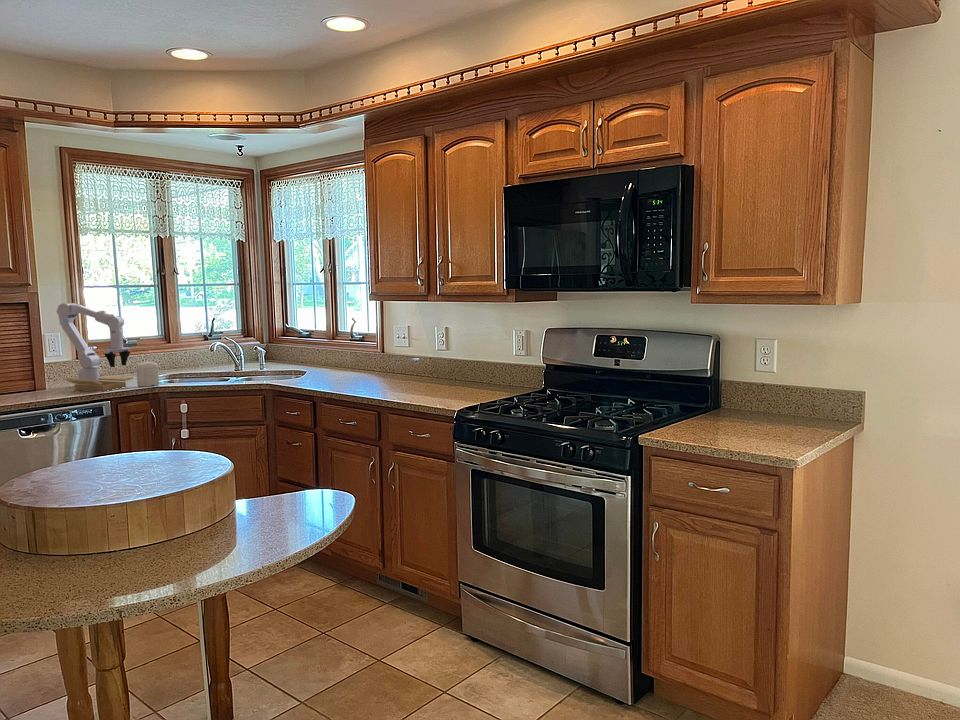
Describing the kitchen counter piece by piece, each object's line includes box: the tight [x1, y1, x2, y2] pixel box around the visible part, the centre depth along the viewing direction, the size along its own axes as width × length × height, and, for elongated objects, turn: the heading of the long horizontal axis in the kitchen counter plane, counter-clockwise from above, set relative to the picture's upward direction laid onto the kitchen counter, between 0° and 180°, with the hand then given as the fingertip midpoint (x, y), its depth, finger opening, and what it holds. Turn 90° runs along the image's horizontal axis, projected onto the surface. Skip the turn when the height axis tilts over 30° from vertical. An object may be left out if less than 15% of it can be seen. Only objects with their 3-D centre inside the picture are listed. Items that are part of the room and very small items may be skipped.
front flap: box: [65, 377, 102, 385], centre depth 356 cm, size 17×6×1 cm, turn 71°
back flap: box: [98, 374, 134, 382], centre depth 375 cm, size 17×6×1 cm, turn 71°
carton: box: [73, 380, 127, 392], centre depth 366 cm, size 18×14×3 cm
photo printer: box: [136, 361, 160, 387], centre depth 376 cm, size 10×4×12 cm, turn 123°
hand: (118, 366), depth 379 cm, fingers open, 7 cm apart
